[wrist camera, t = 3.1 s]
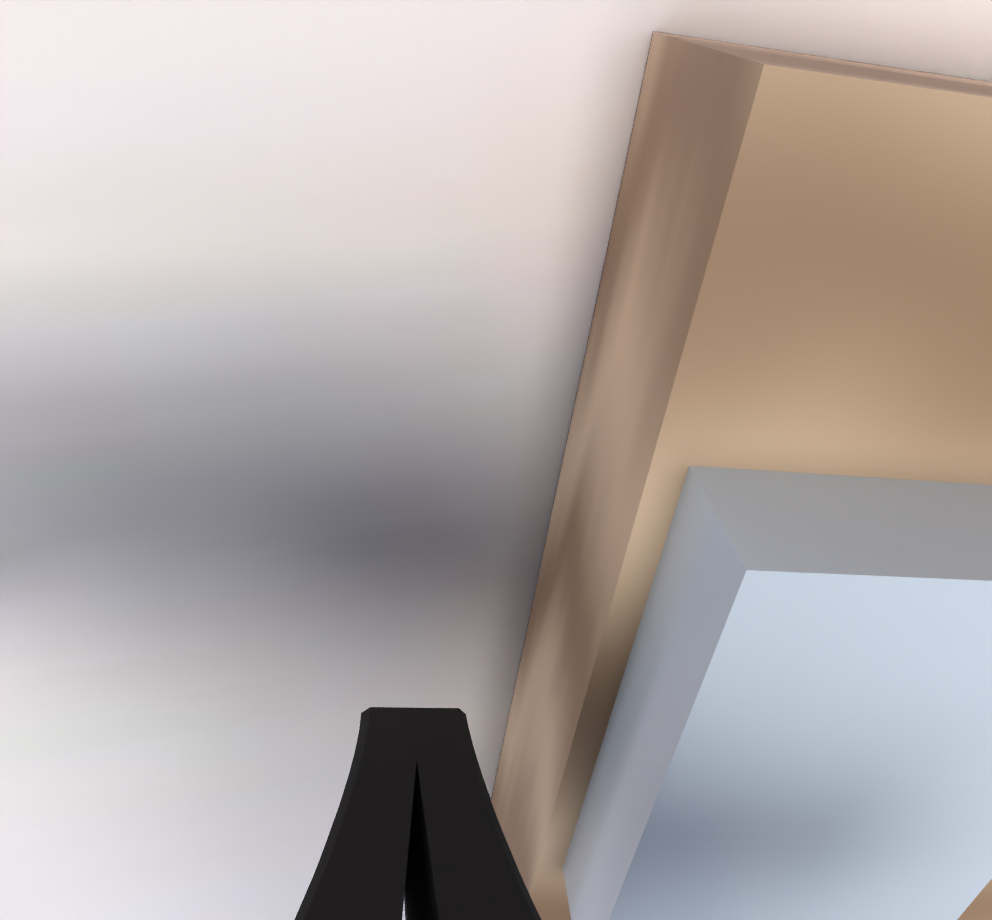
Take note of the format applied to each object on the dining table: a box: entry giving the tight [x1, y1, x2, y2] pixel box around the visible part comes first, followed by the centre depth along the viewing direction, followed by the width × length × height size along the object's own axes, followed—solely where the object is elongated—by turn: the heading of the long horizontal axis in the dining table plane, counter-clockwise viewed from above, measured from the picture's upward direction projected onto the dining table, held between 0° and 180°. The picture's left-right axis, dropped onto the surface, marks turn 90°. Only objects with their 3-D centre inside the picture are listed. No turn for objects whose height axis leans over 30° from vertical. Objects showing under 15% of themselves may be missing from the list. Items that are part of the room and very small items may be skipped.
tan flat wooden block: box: [491, 31, 992, 920], centre depth 15 cm, size 18×12×4 cm, turn 172°
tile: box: [563, 466, 992, 920], centre depth 12 cm, size 9×6×2 cm, turn 172°
